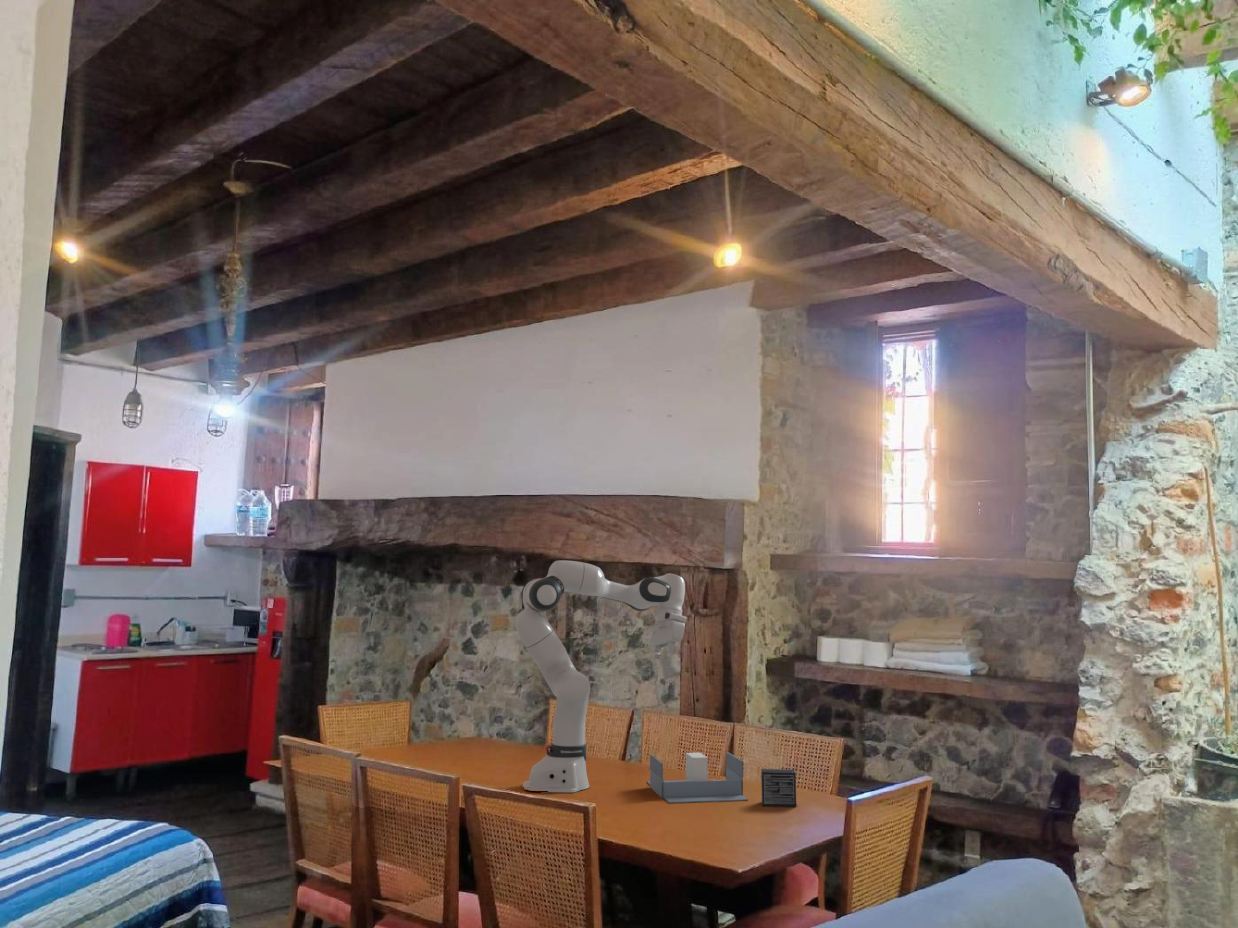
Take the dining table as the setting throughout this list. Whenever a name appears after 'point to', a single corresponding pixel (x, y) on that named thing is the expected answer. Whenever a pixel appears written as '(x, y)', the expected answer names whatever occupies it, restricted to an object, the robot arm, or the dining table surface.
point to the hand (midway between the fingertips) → (662, 657)
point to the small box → (778, 787)
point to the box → (696, 767)
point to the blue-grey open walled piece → (699, 784)
